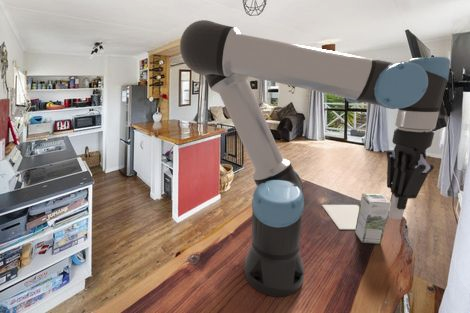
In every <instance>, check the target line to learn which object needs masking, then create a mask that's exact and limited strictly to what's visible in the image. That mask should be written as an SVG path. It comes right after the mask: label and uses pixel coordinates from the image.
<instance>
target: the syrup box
mask: <svg viewBox="0 0 470 313" xmlns="http://www.w3.org/2000/svg"><path fill="white" fill-rule="evenodd" d="M360 196H361V197H360V202H359V212H358V218H357V224H356V229H355V230H354V233H355V234H356V236H357V237H358V239H359V240H360V242H361V243H362V244H375V245H376V244H377V245H381V244H382V242H383V241H382V240H383V236H384V232H385V228H386V224H387V219H388V214H389V209H390V204H391V203H390V201H389V200H388V199H387V198H386V197H385V196H384V195H383V194H380V193H378V194H377V193H361V195H360Z"/></svg>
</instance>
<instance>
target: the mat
mask: <svg viewBox="0 0 470 313" xmlns="http://www.w3.org/2000/svg"><path fill="white" fill-rule="evenodd" d="M321 206H322V208H323V209H324V210H325V212H326V213H327V214H328V216H329V217H330V219H331V220H332V221H333V222H332V223H334V225H335V226H336V227H337V228H338V230H339V231H355V229H356V224H357V218H358V212H359V207H360V205H358V204H322V205H321Z"/></svg>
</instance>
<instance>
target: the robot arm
mask: <svg viewBox="0 0 470 313" xmlns="http://www.w3.org/2000/svg"><path fill="white" fill-rule="evenodd" d="M179 41H180V42H179V49H180V54H181V58H182V60H183V62H184V64H185V65H186V66H187V68H188V69H190V70H191V71H192V72H194V73H195V74H197V75H201V76H204V78H205V80H206V82H207V84H208V86H209V88H210V90H211V91H213V92H215V93H217V94H219V96H220V98H221V101H222V103H223V105H224V107H225V109H226V111H227V113H228V116H229V117H230V120H231V122H232V124H233V126H234V128H235V130H236V132H237V136H239V137H238V138H239V139H240V141H241V143H242V145H243V147H244V149H245V151H246V154H247V155H248V158H249V160H250V163H251V164H252V166H253V169H254V172H253V176H252V179H253V181H254V183H255V186H256V187H255V189H254V190H253V195H252V199H251V208H252V209H251V210H252V214H251V215H252V217H251V219H252V220H251V222H252V223H251V245H250V247H249V250H248V252H247V255H246V257H245V260H244V276H245V279H246V281H247V282H248V284H249V285H250V286H251V287H252V288H253V289H254V290H256V291H258V292H260V293H261V294H264V295H267V296H270V297H286V296H290V295H292V294H294V293H296V292H298V291H299V289H300V288H301V287H302V285H303V283H304V279H305V278H304V277H305V266H304V263H303V259H302V256H301V252H300V242H301V232H302V223H303V212H304V209H305V201H304V193H303V192H304V191H303V190H304V187H303V181H302V179H301V177H300V175H299V174H298V173H297V172H296V171H295V169H294V168H293V165H292V163H291V161H290V160H289V159H286V158H284V157H283V156H282V154H281V151H280V149H279V147H278V145H277V143H276V140H275V138H274V135H273V134H272V132H271V130H270V127H269V125H268V122H267V120H266V118H265V116H264V113H263V111H262V109H261V106H260V105H259V102H258V100H257V98H256V95H255V92H254V91H253V89H252V87H251V84H250V83H249V82H250V81H249V78H255V79H259V80H263V81H267V82H268V81H269V82H272V83H277V84H282V85H286V86H289V87H290V86H291V87H295V88H300V89H305V90H308V91H314V92H318V93H322V94H326V95H332V96H336V97H341V98H345V100H346V101H347V102H349V103H357V104H361V103H366V104H367V103H368V104H371V105H375V106H380V107H383V108H385V109H390V110H397V114H396V118H395V119H396V120H395V123H394V125H395V127H396V128H395V129H394V132H393V136H392V141H391V142H392V143H393V144H394V145H395V146H394V147H393V148H394V149H393V150H387V151H386V158H387V159H386V160H387V169H386V170H387V172H386V187H387V188H388V189H390V192H391V196H390V201H389V202H390V207H389V212H388V216H387V218H390V219H391V220H402V219H403V216H404V212H405V210H406V209H407V208H406V207H407V204H408V200H409V199H410V200H411V199H417V198H418V195H419V193H420V191H421V189H422V187H423V185H424V183H425V181H426V179H427V177H428V175H429V174H430V173H431V172H432V171H433V170H434V169H435V168H434V165H433V164H428V162H427V161H426V159H427V154H426V153H427V152H426V151H427V149H428V148H431V147H432V144H433V139H434V136H435V132H434V131H433V130H436V126H437V122H438V119H439V116H440V115H439V114H440V111H441V110H440V109H441V106H442V102H443V99H444V98H443V97H444V93H445V90H446V86H447V83H448V81H449V76H450V70H451V69H450V68H451V60H450V58H448V57H446V56H429V57H424V56H423V57H415V58H411V59H409V60H408V61H399V62H397V61H396V62H390V61H387V60H381V59H373V58H371V57H364V56H359V55H353V54H349V53H343V52H342V53H341V52H338V51H333V50H327V49H322V48H316V47H311V46H306V45H299V44H294V43H290V42H289V43H288V42H283V41H279V40H274V39H269V38H263V37H259V36H258V37H257V36H253V35H247V34H242V33H241V32H240V30H239V28H237V27H235V26H230V25H225V24H221V23H219V22H214V21H212V20H207V19H205V20H203V19H201V20H200V19H199V20H197V21H195V22H193V23H192V22H191V23H190V24H189V25H188V26H187V27H186V28H185V29H184V31H183V33H182V35H181V38H180V40H179Z"/></svg>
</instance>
